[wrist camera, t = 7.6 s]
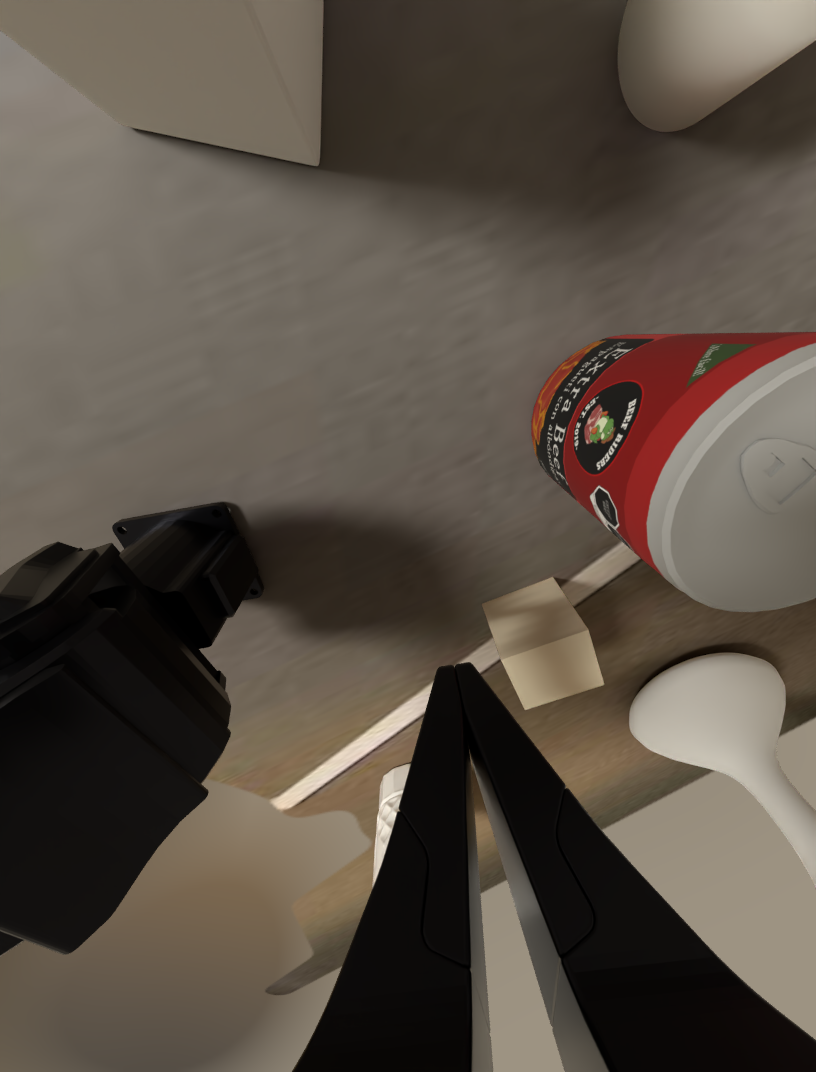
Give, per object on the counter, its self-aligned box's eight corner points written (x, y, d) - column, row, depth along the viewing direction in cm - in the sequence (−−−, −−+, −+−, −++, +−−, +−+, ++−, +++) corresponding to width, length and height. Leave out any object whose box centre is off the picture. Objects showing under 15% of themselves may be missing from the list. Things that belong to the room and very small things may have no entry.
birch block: (503, 649, 27) (524, 710, 23) (481, 603, 25) (501, 660, 21) (568, 626, 26) (604, 684, 22) (552, 576, 24) (588, 629, 20)
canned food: (566, 311, 17) (809, 278, 7) (709, 363, 18) (1076, 394, 8) (502, 467, 20) (604, 587, 11) (625, 500, 22) (816, 634, 12)
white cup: (410, 747, 32) (417, 899, 24) (472, 775, 35) (500, 921, 26) (358, 787, 35) (347, 936, 26) (419, 810, 38) (428, 952, 29)
